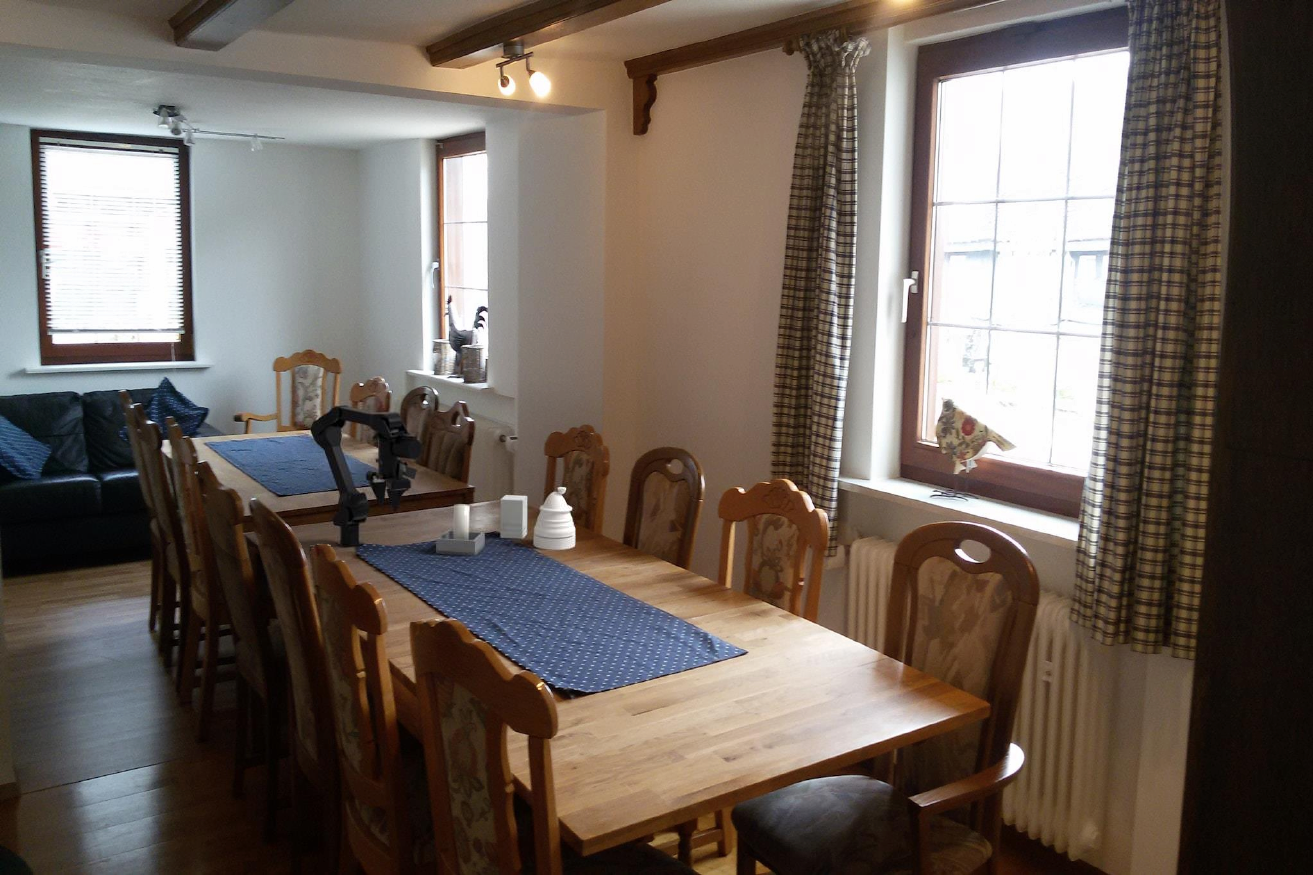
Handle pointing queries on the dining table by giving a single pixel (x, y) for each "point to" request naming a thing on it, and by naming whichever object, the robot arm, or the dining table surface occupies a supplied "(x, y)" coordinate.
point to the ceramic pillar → (461, 522)
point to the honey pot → (555, 524)
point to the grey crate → (460, 544)
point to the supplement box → (513, 517)
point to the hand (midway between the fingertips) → (388, 508)
